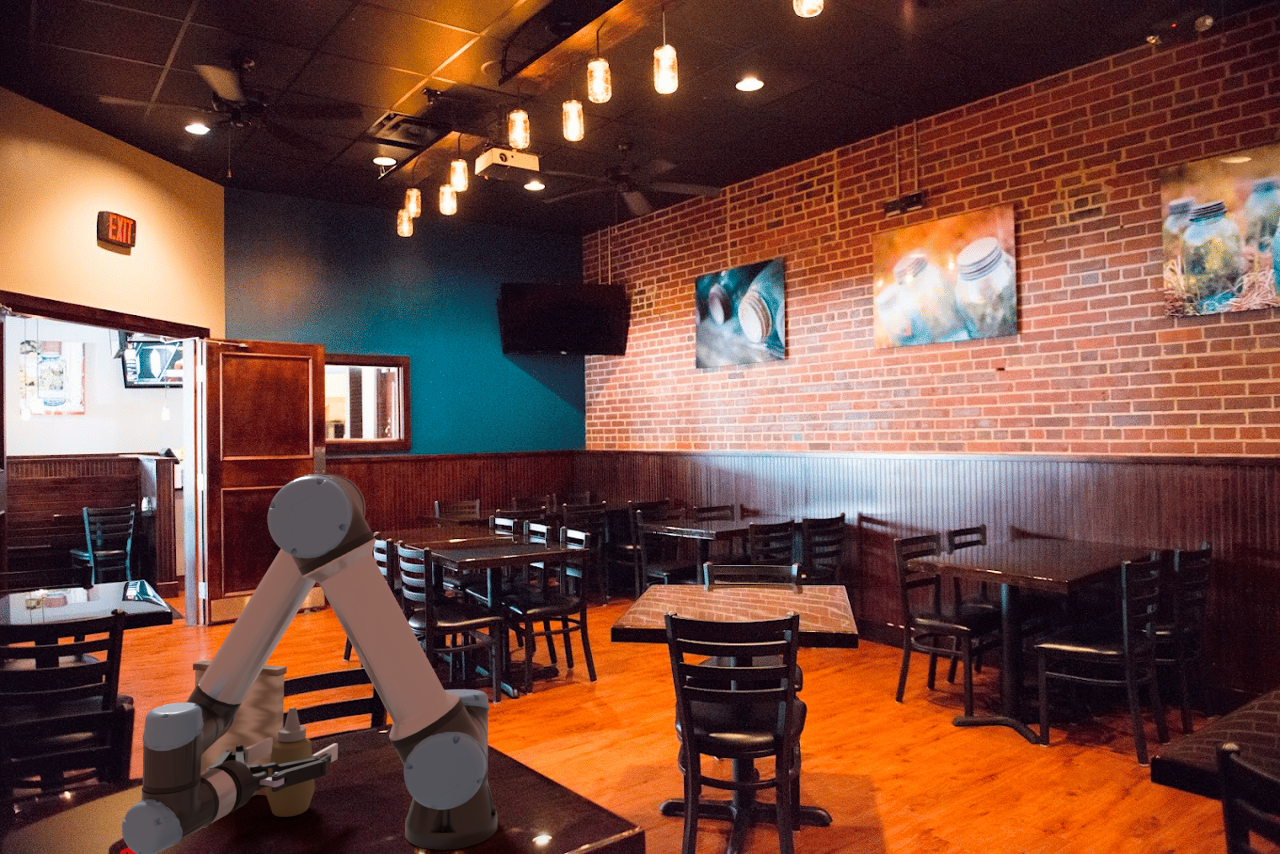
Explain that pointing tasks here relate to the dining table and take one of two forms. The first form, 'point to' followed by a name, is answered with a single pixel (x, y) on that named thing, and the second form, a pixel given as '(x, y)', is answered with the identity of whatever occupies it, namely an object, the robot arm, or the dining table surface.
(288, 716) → the squeeze bottle
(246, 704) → the wooden display stand
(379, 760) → the dining table surface
